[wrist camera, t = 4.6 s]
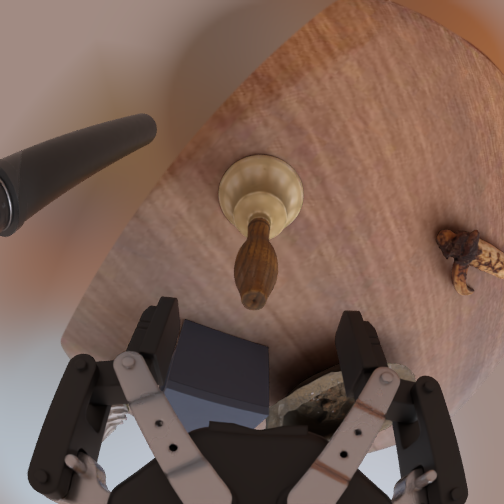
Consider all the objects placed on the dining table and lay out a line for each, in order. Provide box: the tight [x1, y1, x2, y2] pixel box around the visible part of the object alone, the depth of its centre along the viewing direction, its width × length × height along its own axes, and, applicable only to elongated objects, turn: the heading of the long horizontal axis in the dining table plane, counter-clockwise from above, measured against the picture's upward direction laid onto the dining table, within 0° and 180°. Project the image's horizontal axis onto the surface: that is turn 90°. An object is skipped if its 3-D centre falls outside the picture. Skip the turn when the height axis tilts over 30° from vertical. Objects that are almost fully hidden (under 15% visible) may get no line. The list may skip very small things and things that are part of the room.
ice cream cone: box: [102, 404, 129, 442], centre depth 37 cm, size 5×5×15 cm
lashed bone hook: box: [436, 229, 504, 295], centre depth 30 cm, size 9×5×18 cm
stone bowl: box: [266, 363, 416, 441], centre depth 41 cm, size 25×25×9 cm
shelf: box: [159, 319, 269, 432], centre depth 37 cm, size 12×16×11 cm
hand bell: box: [218, 155, 303, 310], centre depth 22 cm, size 8×8×16 cm
